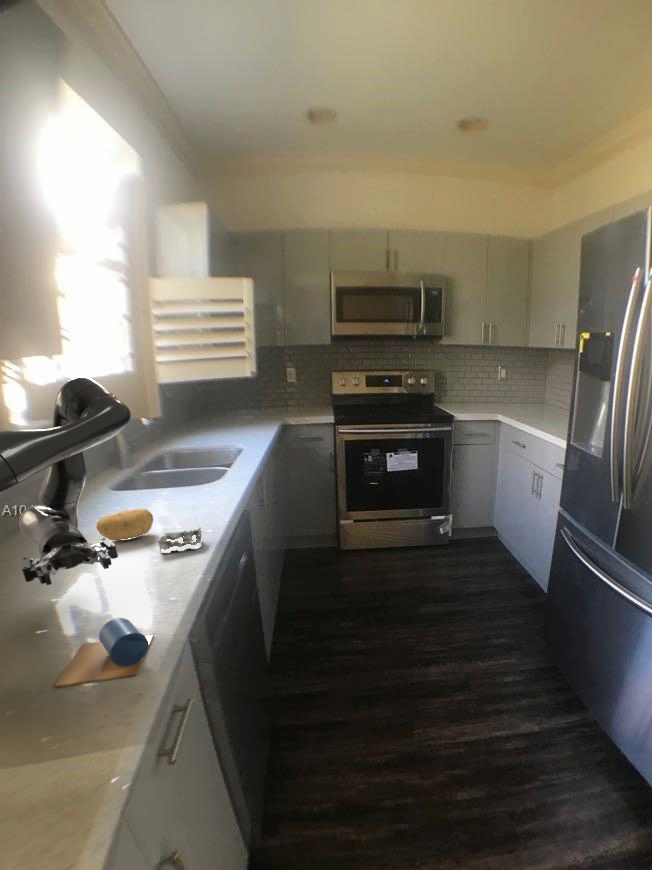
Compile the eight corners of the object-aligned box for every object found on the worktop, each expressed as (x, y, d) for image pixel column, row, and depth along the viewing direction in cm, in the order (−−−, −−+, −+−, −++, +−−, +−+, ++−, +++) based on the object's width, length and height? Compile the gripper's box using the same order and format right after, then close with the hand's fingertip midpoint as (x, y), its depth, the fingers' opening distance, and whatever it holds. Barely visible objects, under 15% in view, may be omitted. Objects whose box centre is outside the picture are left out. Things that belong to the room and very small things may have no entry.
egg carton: (158, 556, 118) (154, 541, 116) (163, 544, 124) (160, 530, 123) (202, 550, 120) (199, 535, 119) (204, 539, 127) (202, 525, 125)
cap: (114, 634, 73) (101, 617, 79) (106, 668, 74) (94, 649, 79) (152, 632, 78) (137, 616, 83) (144, 664, 78) (130, 647, 83)
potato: (101, 538, 130) (94, 512, 127) (155, 528, 136) (150, 503, 133) (99, 551, 122) (92, 523, 119) (157, 539, 127) (151, 513, 125)
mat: (54, 687, 72) (54, 685, 72) (82, 646, 82) (82, 644, 82) (136, 675, 74) (135, 673, 74) (153, 636, 85) (153, 634, 84)
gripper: (11, 536, 84) (20, 564, 73) (98, 517, 93) (119, 539, 82) (23, 573, 87) (33, 605, 75) (107, 550, 96) (128, 577, 84)
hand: (78, 571), depth 78 cm, fingers open, 8 cm apart
